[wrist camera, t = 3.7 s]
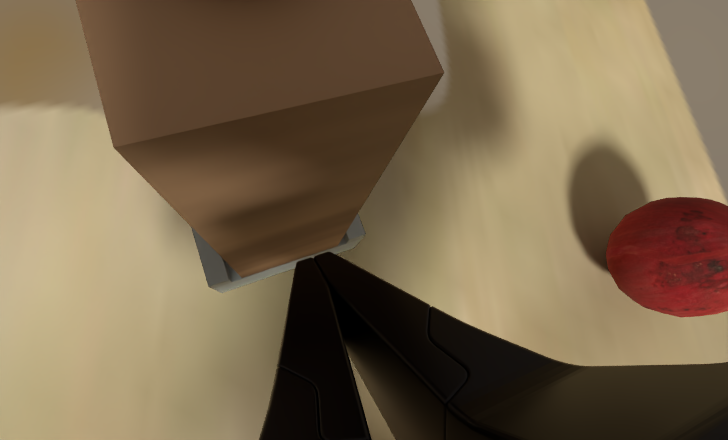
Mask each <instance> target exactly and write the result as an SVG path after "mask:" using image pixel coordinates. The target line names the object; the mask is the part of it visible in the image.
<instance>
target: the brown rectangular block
mask: <svg viewBox="0 0 728 440" xmlns="http://www.w3.org/2000/svg"><path fill="white" fill-rule="evenodd" d="M76 4H77V8H78V11H79V15H80V19H81V23H82V27H83V31H84V35H85V39H86V43H87V46H88V50H89V54H90V58H91V62H92V66H93V70H94V74H95V77H96V81H97V85H98V89H99V93H100V97H101V101H102V104H103V108H104V112H105V116H106V120H107V124H108V128H109V131H110V135H111V139H112V143H113V147H114V148H115V149H116V150H117V151H118V152H119V153H120V154H121V155H122V156H123V157H124V158H125V160H126V161H127V162H128V163H129V164H130V165H131V166H132V167H133V168H134V169H135V170H136V171H137V172H138V173H139V174H140V175H141V176H142V177H143V178H144V179H145V180H146V181H147V182H148V183H149V184H150V185H151V186H152V187H153V188H154V189H155V190H156V191H157V192H158V193H159V194H160V195H161V196H162V197H163V198H164V199H165V200H166V201H167V202H168V203H169V204H170V205H171V206H172V207H173V208H174V209H175V210H176V211H177V212H178V213H179V214H180V215H181V216H182V218H183V219H184V220H185V221H186V222H187V223H188V224H189V225H190V226H191V227H192V228H193V229H194V230H195V231H196V232H197V233H198V234H199V235H200V236H201V237H202V238H203V239H204V240H205V241H206V242H207V243H208V244H209V245H210V246H211V247H212V248H213V249H214V250H215V251H216V252H217V253H218V254H219V255H220V256H221V257H222V258H223V259H224V260H225V261H226V262H227V263H228V264H229V265H230V266H231V267H232V268H233V269H234V270H235V271H236V272H237V273H238V274H239V276H240V277H241V278H244V277H247V276H250V275H253V274H256V273H259V272H262V271H265V270H268V269H271V268H274V267H277V266H280V265H283V264H286V263H289V262H292V261H295V260H298V259H301V258H304V257H307V256H310V255H312V254H315V253H318V252H321V251H324V250H327V249H330V248H333V247H336V246H338V245H339V243H340V241H341V240H342V238H343V237H344V235H345V233H346V232H347V230H348V228H349V227H350V225H351V224H352V222H353V220H354V219H355V217H356V215H357V214H358V212H359V211H360V209H361V207H362V206H363V204H364V202H365V201H366V199H367V198H368V196H369V194H370V193H371V191H372V189H373V188H374V186H375V185H376V183H377V181H378V180H379V178H380V176H381V175H382V173H383V172H384V170H385V168H386V167H387V165H388V163H389V162H390V160H391V159H392V157H393V155H394V154H395V152H396V150H397V149H398V147H399V146H400V144H401V142H402V141H403V139H404V137H405V136H406V134H407V133H408V131H409V129H410V128H411V126H412V124H413V123H414V121H415V120H416V118H417V116H418V115H419V113H420V111H421V110H422V108H423V107H424V105H425V103H426V101H427V100H428V98H429V97H430V95H431V93H432V92H433V90H434V89H435V87H436V85H437V84H438V82H439V80H440V79H441V77H442V76H443V74H444V71H443V69H442V66H441V64H440V62H439V60H438V58H437V56H436V54H435V51H434V49H433V47H432V45H431V43H430V41H429V38H428V36H427V34H426V32H425V30H424V27H423V25H422V23H421V21H420V19H419V16H418V14H417V12H416V10H415V8H414V6H413V3H412V1H411V0H76Z"/></svg>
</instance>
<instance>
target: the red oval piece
mask: <svg viewBox="0 0 728 440" xmlns="http://www.w3.org/2000/svg"><path fill="white" fill-rule="evenodd" d="M606 258H607V265H608V270H609V272H610V273H611V275H612V277H613V279H614V281H615V282H616V284H617V286H618V288H619V289H620V290H621V291H623V292H624V293H625V294H626V295H627V296H629V297H630V298H631V299H632V300H634V301H635V302H637V303H638V304H640V305H641V306H643V307H645V308H648V309H651V310H654V311H658V312H661V313H664V314H669V315H673V316H678V317H693V316H704V315H712V314H718V313H721V312H725V311H728V206H726V205H724V204H722V203H720V202H716V201H713V200H709V199H703V198H690V197H677V198H665V199H660V200H656V201H652V202H650V203H648V204H646V205H644V206H642V207H641V208H639V209H637V210H635V211H633V212H631V213H629V214H627V215H625V217H624V218H623V219H622V221H621V222H620V223H619V224H618V226H617V227H616V228H615V230H614V231H613V232H612V233H611V235H610V238H609V242H608V246H607V250H606Z"/></svg>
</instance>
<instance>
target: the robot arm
mask: <svg viewBox="0 0 728 440" xmlns="http://www.w3.org/2000/svg"><path fill="white" fill-rule="evenodd" d="M348 354H349V356H350V358H351V360H352V362H353V363H354V365H355V367H356V369H357V371H358V372H359V374H360V376H361V378H362V380H363V381H364V383H365V385H366V387H367V389H368V390H369V392H370V394H371V396H372V398H373V399H374V401H375V403H376V405H377V407H378V408H379V410H380V412H381V414H382V416H383V418H384V419H385V421H386V423H387V425H388V427H389V428H390V430H391V432H392V434H393V436H394V437H395V439H396V440H728V362H725V363H715V364H689V365H635V366H579V365H573V364H568V363H564V362H560V361H557V360H554V359H551V358H548V357H545V356H543V355H541V354H538V353H536V352H533V351H531V350H528V349H526V348H523V347H521V346H519V345H516V344H514V343H511V342H509V341H506V340H504V339H501V338H499V337H497V336H494V335H492V334H489V333H487V332H485V331H482V330H480V329H478V328H475V327H473V326H471V325H469V324H466V323H464V322H462V321H460V320H458V319H456V318H454V317H452V316H450V315H448V314H446V313H444V312H442V311H441V310H439V309H437V308H435V307H433V306H432V307H430V305H429V304H427V303H425V302H423V301H422V300H420V299H418V298H416V297H414V296H412V295H410V294H408V293H407V292H405V291H403V290H401V289H399V288H397V287H395V286H394V285H392V284H390V283H388V282H386V281H384V280H382V279H380V278H379V277H377V276H375V275H373V274H371V273H369V272H367V271H365V270H364V269H362V268H360V267H358V266H356V265H354V264H352V263H351V262H349V261H347V260H345V259H343V258H341V257H339V256H337V255H336V254H334V253H332V252H325V253H322V254H319V255H316V256H315V257H314V259H313V258H312V257H310V258H307V259H304V260H300V261H298V262H297V263H296V266H295V272H294V277H293V283H292V288H291V294H290V299H289V304H288V310H287V315H286V321H285V326H284V332H283V337H282V343H281V348H280V353H279V359H278V364H277V367H278V368H277V369H276V374H275V380H274V385H273V389H272V394H271V398H270V403H269V407H268V411H267V414H266V418H265V421H264V424H263V428H262V431H261V434H260V438H259V440H372V439H371V436H370V432H369V428H368V425H367V421H366V418H365V414H364V410H363V407H362V403H361V399H360V396H359V392H358V389H357V385H356V381H355V378H354V374H353V370H352V367H351V363H350V359H349V356H348Z"/></svg>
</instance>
